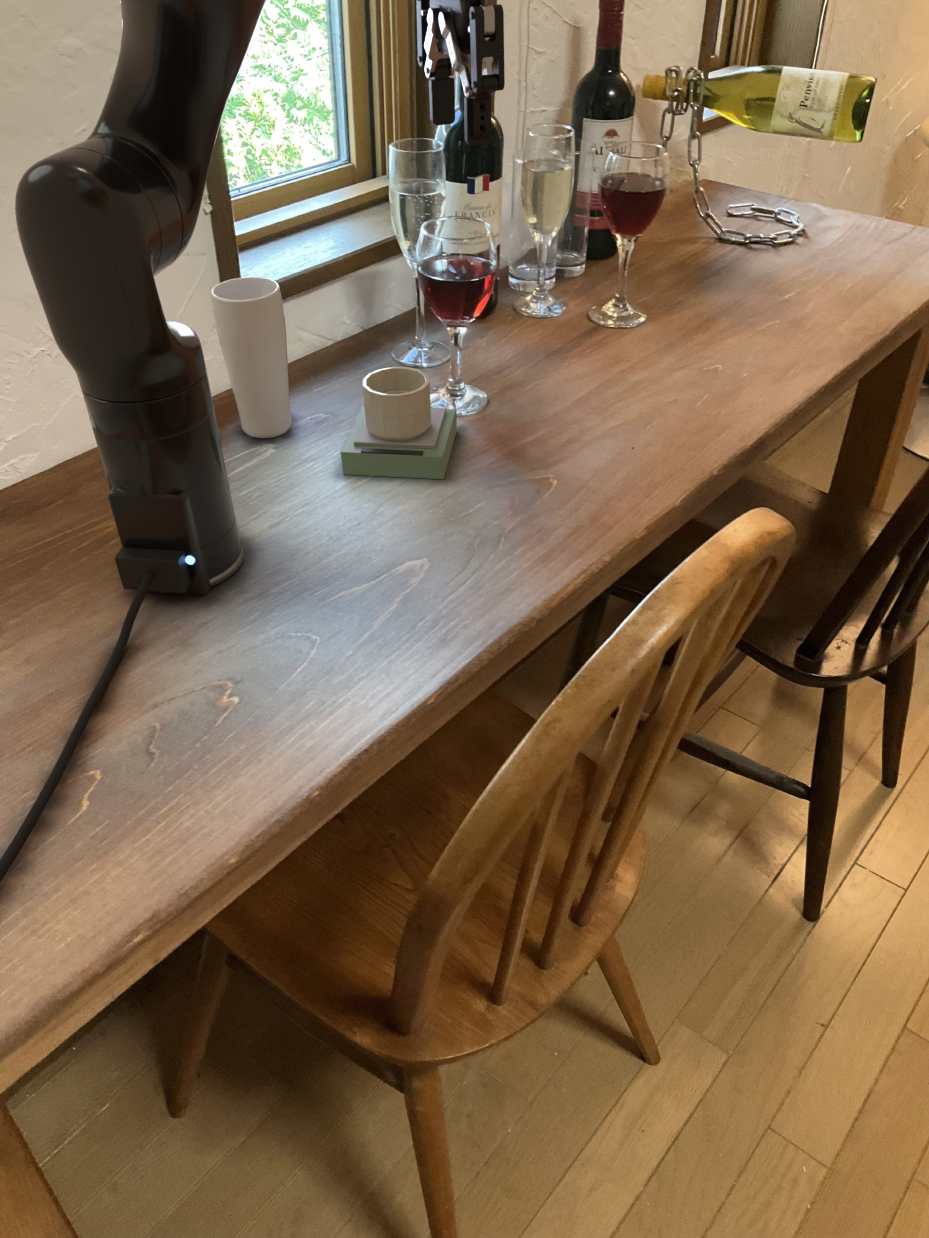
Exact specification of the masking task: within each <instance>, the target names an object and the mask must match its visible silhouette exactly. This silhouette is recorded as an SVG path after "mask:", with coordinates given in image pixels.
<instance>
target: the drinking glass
mask: <svg viewBox="0 0 929 1238" xmlns="http://www.w3.org/2000/svg"><path fill="white" fill-rule="evenodd" d="M210 299H211V305H212V307H211V308H212V313H213V320H214V324H215V329H216V333H217V334H216V335H217V337H218V338H217V339H218V343H219V346H220V349H221V353H222V356H223V361H224V364H225V368H226V371H227V373H228V374H227V375H228V378H229V382H230V386H231V389H232V393H233V397H234V400H235V404H236V408H237V412H238V417H239V422H240V427H241V430H242V432H244V433H245V434H246V435H247V436H249V437H252V438H256V439H271V438H277V437H279V436H281V435H283V434H285V433H287V432H288V431H289V430H290V429H291V427H292V425H293V416H292V410H291V400H290V399H291V398H290V379H289V361H288V360H289V358H288V337H287V325H286V317H285V310H284V309H285V308H284V303H283V297H282V293H281V287H280V284H279V283H278V282H277V281H275V280H273V279H271V278H267V277H260V276H245V277H237V278H231V279H227V280H224V281H221V282H219V283H217V284H215V285H214V286H213V287H212V288H211V290H210Z"/></svg>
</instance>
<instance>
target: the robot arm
mask: <svg viewBox="0 0 929 1238" xmlns="http://www.w3.org/2000/svg"><path fill="white" fill-rule="evenodd" d="M266 2H267V0H120V11H121V38H120V39H121V41H120V48H119V54H118V57H117V61H116V67H115V69H114V74H113V77H112V81H111V84H110V87H109V90H108V93H107V96H106V99H105V102H104V105H103V107H102V110H101V113H100V114H99V117H98V120H97V122H96V124H95V127H94V128H93V130H92V132H91V133H90V135H89V136H88V137H87V138H86V139H85V140H83V141H81V142H78V143H76V144H74V145H72V146H69V147H67V148H65V149H62V150H59V151H57V152H54V153H53V154H51V155H48V156H46V157H44V158H43V159H40V160H39V161H37V162H35V163H34V164H32V165H31V166H30V167H29V168H28V169H26V171H25V172H24V173H23V175H22V177H21V178H20V180H19V182H18V184H17V187H16V193H15V198H14V199H15V200H14V201H15V202H14V205H15V206H14V211H15V212H14V213H15V222H16V228H17V232H18V238H19V241H20V244H21V248H22V252H23V254H24V258H25V261H26V264H27V267H28V270H29V273H30V275H31V278H32V281H33V284H34V287H35V289H36V292H37V295H38V297H39V301H40V304H41V306H42V310H43V312H44V314H45V318H46V321H47V324H48V326H49V329H50V332H51V334H52V337H53V339H54V341H55V343H56V345H57V348H58V349H59V350H60V352H61V354H62V355H63V356H64V358H65V359H66V360H67V362H68V364H70V366H71V367H72V369H73V370H74V371H75V375H76V377H77V381H78V383H79V387H80V389H81V392H82V396H83V401H84V403H85V406H86V410H87V413H88V417H89V421H90V424H91V428H92V432H93V435H94V439H95V443H96V446H97V449H98V453H99V456H100V460H101V463H102V467H103V470H104V475H105V476H106V481H107V484H108V488H109V492H108V494H107V499H108V503H109V506H110V509H111V513H112V516H113V520H114V524H115V526H116V530H117V533H118V534H117V535H118V537H119V541H120V544H121V548H120V549H119V551H118V552H117V553H116V555H115V556H114V561H115V565H116V568H117V571H118V575H119V578H120V580H121V585H122V588H123V590H132V591H135V592H136V593H135V595H134V597H133V598H132V601H131V603H130V605H129V607H128V610H127V613H126V615H125V617H124V621H123V624H122V627H121V630H120V633H119V636H118V639H117V641H116V644H115V646H114V649H113V651H112V653H111V655H110V658H109V660H108V662H107V664H106V666H105V668H104V669H103V672H102V674H101V675H100V677H99V679H98V681H97V683H96V685H95V686H94V689H93V690H92V693H91V694H90V696H89V698H88V699H87V702H86V703H85V705H84V707H83V709H82V711H81V713H80V715H79V716H78V719H77V721H76V723H75V724H74V727H73V729H72V731H71V732H70V735H69V736H68V739H67V741H66V743H65V745H64V747H63V749H62V751H61V752H60V755H59V756H58V758H57V761H56V762H55V765H54V766H53V769H52V771H51V772H50V774H49V776H48V778H47V780H46V782H45V783H44V785H43V787H42V788H41V790H40V792H39V794H38V795H37V798H36V799H35V801H34V803H33V805H32V806H31V808H30V810H29V811H28V814H26V817H25V819H24V820H23V822H22V823H21V825H20V827H19V829H18V831H16V834H15V835H14V837H13V839H12V840H11V842H10V844H9V845H8V847H7V848H6V850H5V851H4V853H3V855H2V856H1V858H0V884H1V882H2V881H3V880H4V878H5V876H6V875H7V873H8V872H9V870H10V868H11V867H12V865H13V864H14V863H15V860H16V859H17V858H18V856H19V854H20V852H21V851H22V849H23V847H24V846H25V844H26V842H27V841H28V839H29V838H30V835H31V834H32V832H33V830H34V828H35V826H36V825H37V824H38V821H39V820H40V818H41V816H42V814H43V813H44V811H45V809H46V807H47V805H48V804H49V802H50V800H51V798H52V797H53V794H54V793H55V791H56V789H57V787H58V785H59V783H60V781H61V779H62V777H63V775H64V773H65V772H66V770H67V767H68V765H69V764H70V762H71V759H72V757H73V755H74V754H75V751H76V749H77V747H78V745H79V742H80V741H81V739H82V737H83V734H84V732H85V730H86V729H87V726H88V724H89V722H90V720H91V718H92V716H93V714H94V712H95V710H96V708H97V706H98V705H99V703H100V701H101V699H102V697H103V696H104V693H105V691H106V690H107V688H108V686H109V684H110V682H111V680H112V678H113V676H114V674H115V672H116V670H117V668H118V667H119V664H120V661H121V659H122V656H123V655H124V652H125V650H126V648H127V645H128V641H129V639H130V636H131V632H132V630H133V628H134V627H133V626H134V623H135V621H136V618H137V615H138V613H139V611H140V608H141V606H142V604H143V601H144V600H145V598H146V595H147V594H148V593H156V594H167V595H185V596H186V595H187V596H206V595H207V594H208V593H209V591H210V589H211V588H213V587H215V586H216V585H219V584H221V583H223V582H224V581H226V580H228V579H229V578H230V577H232V575H234V574H235V573H236V572H238V570H239V568H240V567H241V566H242V563H243V561H244V558H245V557H244V555H245V552H244V547H243V543H242V540H241V538H240V534H239V533H240V532H239V527H238V523H237V518H236V513H235V508H234V504H233V503H234V502H233V498H232V492H231V488H230V483H229V477H228V473H227V467H226V462H225V459H224V458H225V457H224V453H223V448H222V443H221V437H220V433H219V427H218V423H217V417H216V411H215V407H214V401H213V396H212V391H211V386H210V380H209V376H208V370H207V367H206V365H207V364H206V359H205V356H204V351H203V346H202V342H201V339H200V337H199V335H198V334H197V333H196V331H194V329H192V327H190V326H188V325H187V324H184V323H182V322H180V321H176V320H171V319H166V316H165V312H164V310H163V305H162V302H161V298H160V296H159V291H158V287H157V284H156V279H155V277H156V276H157V275H158V274H160V273H161V272H163V271H164V270H166V268H168V267H170V266H171V265H173V264H174V263H175V262H176V261H177V260H178V259H179V258H180V256H181V255H182V254H183V253H184V251H185V250H186V249H187V248H188V245H189V243H190V241H191V239H192V236H193V234H194V232H195V229H196V225H197V222H198V219H199V215H200V212H201V211H200V210H201V206H202V202H203V198H204V195H205V194H204V193H205V188H206V184H207V179H208V175H209V170H210V167H211V163H212V158H213V153H214V151H215V145H216V141H217V137H218V133H219V131H220V125H221V122H222V118H223V115H224V112H225V109H226V106H227V103H228V100H229V97H230V95H231V92H232V89H233V87H234V85H235V82H236V81H237V78H238V76H239V73H240V71H241V69H242V67H243V63H244V61H245V59H246V56H247V54H248V51H249V48H250V46H251V44H252V41H253V38H254V35H255V32H256V30H257V28H258V25H259V21H260V19H261V16H262V13H263V10H264V7H265V4H266ZM415 3H416V38H417V39H416V40H417V41H416V43H417V63H418V65H419V67H420V68H423V67H424V73H425V77H426V78H427V79H428V92H429V119H430V122H431V123H432V124H433V125H434V126H445V125H452V124H453V123H454V122H455V120H456V93H455V90H456V89H455V78H454V77H452V76H454V75H455V72H456V73H458V74H459V77H460V81H461V86H462V89H463V94H464V97H463V113H464V114H463V119H464V123H463V124H464V143H466V145H468V146H470V147H479V146H486V145H489V144H490V143H491V141H492V96H493V95H495V94H496V92H498V91H503V90H504V89H505V84H506V83H505V82H506V81H505V80H506V79H505V78H506V77H505V21H504V19H505V17H504V14H505V13H504V8H503V5H502V4H487V2H486V0H416V1H415ZM492 64H493V65H492ZM492 66H493V67H492Z"/></svg>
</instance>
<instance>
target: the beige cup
mask: <svg viewBox="0 0 929 1238" xmlns="http://www.w3.org/2000/svg"><path fill="white" fill-rule="evenodd" d="M430 388H431V387H430V377H429V375H428V374H427V373H425V372H424V371H422V370H421V369H418V368H413V367H409V366H390V367H382V368H379V369H376V370H374V371H371V372H369V373H368V374H366V376H364V377H363V378H362V393H363V394H362V395H363V402H364V403H363V404H364V405H363V406H365V417H366V428H367V429H368V430H369V431H370V432H372V433H373V434H374V435H375V436H377V437H379V438H381V439H385V440H391V441H402V440H409V439H413V438H415V437H418V436H420V435H421V434H423V433H424V432H425V431H426V430H427V429H428V428H429V426H430V425H431V408H432V407H431V389H430Z"/></svg>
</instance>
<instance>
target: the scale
mask: <svg viewBox="0 0 929 1238" xmlns="http://www.w3.org/2000/svg"><path fill="white" fill-rule="evenodd" d="M457 431H458V421H457V409H456V408H455V409H453V408H452V409H451V408H446V407H431V425H430V426H429V428H428V429H427V430H426V431H425V432H424V433H423V434H421V435H420V436H418V437H415V438H413V439H409V440H402V441H391V440H385V439H381V438H379V437H377V436H375V435H374V434H373V433H372V432H370V431H369V430H368V429H367V428H366V417H365V406H364V405H361V407H360V409H359V411H358V413H357V416H356V418H355V420H354V422H353V424H352V426H351V429H350V431H349V433H348V435H347V437H346V440H345V442H344V445H343V446H342V449H341V451H340V458H341V466H342V474H343V475H346V476H347V475H348V476H364V477H365V476H366V477H368V476H369V477H386V478H387V477H389V478H405V479H406V478H407V479H427V480H444V479H445V475H446V472H447V468H448V464H449V461H450V457H451V453H452V450H453V446H454V443H455V442H454V441H455V439H456V435H457Z"/></svg>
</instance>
